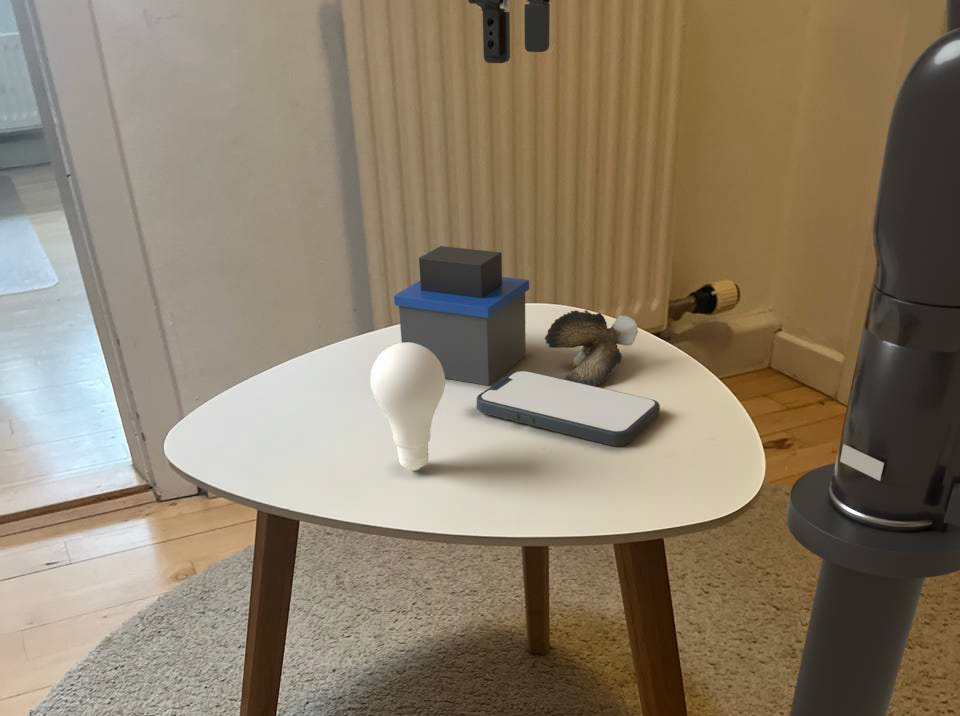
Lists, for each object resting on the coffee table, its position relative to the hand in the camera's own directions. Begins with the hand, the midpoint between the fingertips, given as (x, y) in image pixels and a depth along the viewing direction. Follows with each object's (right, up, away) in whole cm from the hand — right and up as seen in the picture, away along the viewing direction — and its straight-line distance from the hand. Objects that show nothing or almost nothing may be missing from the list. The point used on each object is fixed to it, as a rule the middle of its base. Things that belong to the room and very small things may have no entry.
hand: (517, 56), depth 88 cm
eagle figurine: (+8, -25, +14) cm, 29 cm away
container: (-5, -23, +16) cm, 29 cm away
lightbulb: (-9, -38, -3) cm, 39 cm away
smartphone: (+5, -31, +5) cm, 32 cm away
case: (-5, -17, +12) cm, 21 cm away
